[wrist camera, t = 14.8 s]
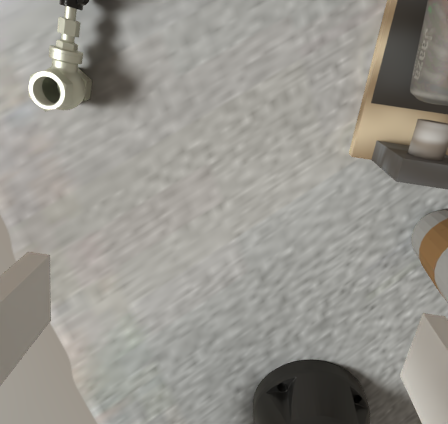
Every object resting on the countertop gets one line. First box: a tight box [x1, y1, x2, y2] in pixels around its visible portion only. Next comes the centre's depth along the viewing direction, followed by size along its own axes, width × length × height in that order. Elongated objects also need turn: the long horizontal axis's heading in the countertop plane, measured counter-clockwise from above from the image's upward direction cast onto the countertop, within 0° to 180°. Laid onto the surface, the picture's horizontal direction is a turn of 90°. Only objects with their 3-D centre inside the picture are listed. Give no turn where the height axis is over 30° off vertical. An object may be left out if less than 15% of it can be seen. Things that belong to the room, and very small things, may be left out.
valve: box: [29, 0, 92, 111], centre depth 39 cm, size 7×7×12 cm
